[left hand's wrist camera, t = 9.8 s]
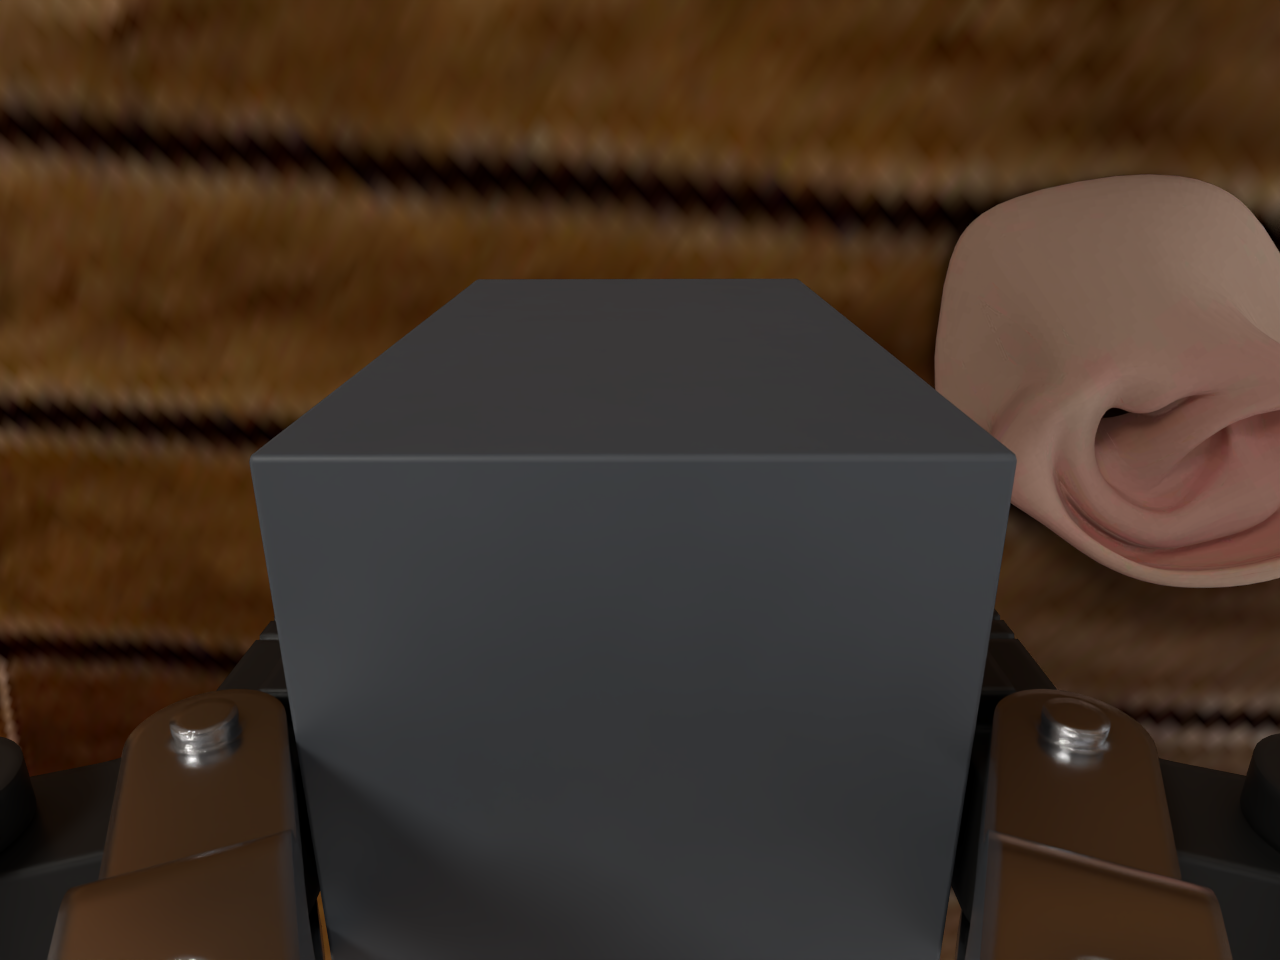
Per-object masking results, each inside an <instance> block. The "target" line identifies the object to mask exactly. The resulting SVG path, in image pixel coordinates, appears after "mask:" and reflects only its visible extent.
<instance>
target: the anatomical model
mask: <svg viewBox="0 0 1280 960" xmlns="http://www.w3.org/2000/svg"><path fill="white" fill-rule="evenodd" d="M934 360H935V390H936V391H937V392H939V393H940V394H941V395H942V396H944V397H945V398H946V399H947V400H949V401H950V402H951V403H952V404H954V405H955V406H956V407H957V408H959V409H960V410H961V411H962V412H963V413H965V414H966V415H967V416H968V417H970V418H971V419H972V420H973V421H975V422H976V423H977V424H978V425H980V426H981V427H982V428H983V429H985V430H986V431H987V432H988V433H990V434H991V435H992V436H993V437H995V438H996V439H997V440H998V441H1000V442H1001V443H1002V444H1003V445H1004V446H1006V447H1007V448H1008V449H1009V450H1011V451H1012V452H1013V453H1014V454H1015V455H1016V458H1017V464H1016V470H1015V477H1014V483H1013V490H1012V496H1011V502H1010V503H1012V504H1013V505H1015V506H1016V507H1018V508H1019V509H1021V510H1022V511H1024V512H1025V513H1027V514H1028V515H1030V516H1031V517H1033V518H1034V519H1036V520H1037V521H1039V522H1040V523H1042V524H1043V525H1045V526H1046V527H1047V528H1049V529H1050V530H1051V531H1053V532H1054V533H1056V534H1057V535H1058V536H1060V537H1061V538H1062V539H1064V540H1065V541H1067V542H1068V543H1069V544H1071V545H1072V546H1073V547H1075V548H1076V549H1078V550H1079V551H1081V552H1082V553H1084V554H1085V555H1087V556H1089V557H1090V558H1092V559H1093V560H1095V561H1096V562H1098V563H1100V564H1102V565H1104V566H1106V567H1108V568H1110V569H1112V570H1114V571H1116V572H1119V573H1121V574H1124V575H1126V576H1129V577H1132V578H1135V579H1138V580H1141V581H1145V582H1150V583H1154V584H1158V585H1166V586H1174V587H1188V588H1213V587H1230V586H1239V585H1248V584H1254V583H1259V582H1265V581H1269V580H1273V579H1276V578H1280V253H1279V251H1278V249H1277V248H1276V246H1275V244H1274V243H1273V241H1272V240H1271V238H1270V236H1269V235H1268V233H1267V232H1266V230H1265V228H1264V227H1263V226H1262V225H1261V223H1260V222H1259V221H1258V220H1257V218H1256V217H1255V216H1254V215H1253V213H1252V212H1251V211H1250V210H1249V209H1248V208H1247V207H1246V206H1245V205H1244V204H1243V203H1242V202H1241V201H1240V200H1238V199H1237V198H1236V197H1234V196H1233V195H1232V194H1230V193H1228V192H1227V191H1225V190H1223V189H1221V188H1219V187H1217V186H1215V185H1213V184H1210V183H1206V182H1203V181H1200V180H1197V179H1192V178H1187V177H1181V176H1171V175H1152V174H1143V175H1125V176H1112V177H1106V178H1099V179H1092V180H1085V181H1078V182H1074V183H1069V184H1065V185H1060V186H1055V187H1051V188H1046V189H1042V190H1039V191H1035V192H1032V193H1029V194H1025V195H1022V196H1019V197H1016V198H1013V199H1011V200H1008V201H1006V202H1003V203H1001V204H998V205H996V206H995V207H993V208H991V209H989V210H988V211H986V212H984V213H983V214H981V215H980V216H979V217H978V218H976V219H975V220H974V221H973V222H972V223H971V224H970V225H969V226H968V227H967V228H966V229H965V231H964V232H963V233H962V235H961V236H960V238H959V240H958V242H957V244H956V246H955V248H954V251H953V254H952V257H951V259H950V263H949V267H948V271H947V275H946V279H945V283H944V287H943V294H942V301H941V308H940V315H939V322H938V329H937V336H936V347H935V358H934Z"/></svg>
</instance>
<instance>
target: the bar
mask: <svg viewBox="0 0 1280 960" xmlns="http://www.w3.org/2000/svg"><path fill="white" fill-rule="evenodd" d="M1016 464H1017V458H1016V455H1015V454H1014V453H1013V452H1012V451H1011V450H1009V449H1008V448H1007V447H1006V446H1004V445H1003V444H1002V443H1001V442H1000V441H998V440H997V439H996V438H995V437H993V436H992V435H991V434H990V433H988V432H987V431H986V430H985V429H983V428H982V427H981V426H980V425H978V424H977V423H976V422H975V421H973V420H972V419H971V418H970V417H968V416H967V415H966V414H965V413H963V412H962V411H961V410H960V409H959V408H957V407H956V406H955V405H954V404H952V403H951V402H950V401H949V400H947V399H946V398H945V397H944V396H942V395H941V394H940V393H939V392H937V391H936V390H935V389H934V388H932V387H931V386H930V385H929V384H927V383H926V382H925V381H924V380H922V379H921V378H920V377H919V376H918V375H916V374H915V373H914V372H913V371H911V370H910V369H909V368H908V367H906V366H905V365H904V364H903V363H901V362H900V361H899V360H898V359H896V358H895V357H894V356H893V355H891V354H890V353H889V352H888V351H886V350H885V349H884V348H883V347H881V346H880V345H879V344H878V343H877V342H875V341H874V340H873V339H872V338H870V337H869V336H868V335H867V334H865V333H864V332H863V331H862V330H860V329H859V328H858V327H857V326H855V325H854V324H853V323H852V322H850V321H849V320H848V319H847V318H845V317H844V316H843V315H842V314H840V313H839V312H838V311H837V310H836V309H834V308H833V307H832V306H831V305H829V304H828V303H827V302H826V301H824V300H823V299H822V298H821V297H819V296H818V295H817V294H816V293H814V292H813V291H812V290H811V289H809V288H808V287H807V286H806V285H804V284H803V283H802V282H801V281H799V280H798V279H512V280H476V281H475V282H474V283H472V284H471V285H470V286H469V287H467V288H466V289H465V290H463V291H462V292H461V293H460V294H458V295H457V296H456V297H454V298H453V299H452V300H451V301H449V302H448V303H447V304H445V305H444V306H443V307H442V308H440V309H439V310H438V311H436V312H435V313H434V314H433V315H431V316H430V317H429V318H427V319H426V320H425V321H424V322H422V323H421V324H420V325H418V326H417V327H416V328H415V329H413V330H412V331H411V332H409V333H408V334H407V335H406V336H404V337H403V338H402V339H400V340H399V341H398V342H397V343H395V344H394V345H393V346H391V347H390V348H389V349H388V350H386V351H385V352H384V353H382V354H381V355H380V356H379V357H377V358H376V359H375V360H373V361H372V362H371V363H370V364H368V365H367V366H366V367H364V368H363V369H362V370H361V371H359V372H358V373H357V374H355V375H354V376H353V377H352V378H350V379H349V380H348V381H346V382H345V383H344V384H343V385H341V386H340V387H339V388H337V389H336V390H335V391H334V392H332V393H331V394H330V395H328V396H327V397H326V398H325V399H323V400H322V401H321V402H319V403H318V404H317V405H316V406H314V407H313V408H312V409H310V410H309V411H308V412H307V413H305V414H304V415H303V416H301V417H300V418H299V419H298V420H296V421H295V422H294V423H292V424H291V425H290V426H289V427H287V428H286V429H285V430H283V431H282V432H281V433H280V434H278V435H277V436H276V437H274V438H273V439H272V440H271V441H269V442H268V443H267V444H265V445H264V446H263V447H262V448H260V449H259V450H258V451H256V452H255V453H254V454H253V455H251V458H250V468H251V474H252V480H253V486H254V492H255V498H256V504H257V510H258V516H259V522H260V528H261V534H262V541H263V547H264V553H265V559H266V565H267V571H268V577H269V583H270V589H271V595H272V601H273V607H274V613H275V619H276V625H277V631H278V637H279V643H280V649H281V655H282V661H283V667H284V673H285V680H286V686H287V692H288V698H289V704H290V710H291V716H292V722H293V728H294V734H295V740H296V746H297V752H298V758H299V764H300V770H301V776H302V782H303V788H304V794H305V800H306V806H307V813H308V819H309V825H310V831H311V837H312V843H313V849H314V855H315V861H316V867H317V873H318V879H319V885H320V891H321V897H322V903H323V909H324V915H325V921H326V927H327V933H328V939H329V945H330V952H331V958H332V960H939V959H940V953H941V946H942V940H943V934H944V927H945V921H946V914H947V908H948V901H949V895H950V888H951V882H952V876H953V869H954V863H955V856H956V850H957V843H958V837H959V831H960V824H961V818H962V811H963V805H964V798H965V792H966V786H967V779H968V773H969V766H970V760H971V753H972V747H973V741H974V734H975V728H976V721H977V715H978V708H979V702H980V695H981V689H982V683H983V676H984V670H985V663H986V657H987V650H988V644H989V638H990V631H991V625H992V618H993V612H994V605H995V599H996V593H997V586H998V580H999V573H1000V567H1001V560H1002V554H1003V547H1004V541H1005V535H1006V528H1007V522H1008V515H1009V509H1010V502H1011V496H1012V490H1013V483H1014V477H1015V470H1016Z"/></svg>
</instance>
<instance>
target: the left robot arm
mask: <svg viewBox="0 0 1280 960" xmlns="http://www.w3.org/2000/svg"><path fill="white" fill-rule="evenodd" d="M951 885H952V888H953V890H954V892H955V895H956V897H957V899H958V902H959V904H960V907H961V915H960V921H959V927H958V934H957V943H956V952H955V960H1280V734H1275V735H1271V736H1268V737H1266V738H1264V739H1262V740H1261V741H1260V742H1259V743H1257V745H1256V747H1255V749H1254V752H1253V755H1252V759H1251V762H1250V765H1249V769H1248V772H1247V776H1244V775H1238V774H1233V773H1228V772H1223V771H1218V770H1213V769H1208V768H1203V767H1198V766H1193V765H1187V764H1182V763H1177V762H1173V761H1168V760H1164V759H1160V758H1158V753H1157V749H1156V746H1155V743H1154V741H1153V739H1152V738H1151V736H1150V735H1149V733H1148V732H1147V731H1146V730H1145V729H1144V728H1143V727H1142V726H1141V725H1140V724H1139V723H1138V722H1136V721H1135V720H1134V719H1133V718H1131V717H1130V716H1128V715H1127V714H1125V713H1124V712H1122V711H1120V710H1118V709H1116V708H1115V707H1113V706H1111V705H1109V704H1106V703H1104V702H1102V701H1099V700H1097V699H1094V698H1091V697H1088V696H1085V695H1081V694H1077V693H1073V692H1067V691H1061V690H1057V689H1056V688H1055V686H1054V685H1053V684H1052V682H1051V681H1050V680H1049V679H1048V677H1047V676H1046V675H1045V673H1044V672H1043V671H1042V670H1041V668H1040V667H1039V666H1038V664H1037V663H1036V662H1035V660H1034V659H1033V658H1032V657H1031V655H1030V654H1029V653H1028V651H1027V650H1026V649H1025V648H1024V646H1023V645H1022V644H1021V642H1020V641H1019V640H1018V639H1014V633H1013V632H1012V631H1011V629H1010V628H1009V627H1008V626H1007V624H1006V623H1005V622H1004V620H1000V615H999V614H998V613H997V611H996V610H995V609H994V612H993V618H992V625H991V631H990V638H989V644H988V650H987V657H986V663H985V670H984V676H983V683H982V689H981V695H980V702H979V708H978V715H977V721H976V728H975V734H974V741H973V747H972V753H971V760H970V766H969V773H968V779H967V786H966V792H965V798H964V805H963V811H962V818H961V824H960V831H959V837H958V843H957V850H956V856H955V863H954V869H953V876H952V882H951ZM319 892H320V885H319V879H318V873H317V867H316V861H315V855H314V849H313V843H312V837H311V831H310V825H309V819H308V813H307V806H306V800H305V794H304V788H303V782H302V776H301V770H300V764H299V758H298V752H297V746H296V740H295V734H294V728H293V722H292V716H291V710H290V704H289V698H288V692H287V686H286V680H285V673H284V667H283V661H282V655H281V649H280V643H279V637H278V631H277V625H276V619H275V617H274V621H271V622H270V623H269V624H268V626H267V627H266V628H265V629H264V631H263V632H262V633H261V634H260V640H256V641H255V642H254V643H253V645H252V646H251V647H250V648H249V650H248V651H247V652H246V654H245V655H244V656H243V657H242V659H241V660H240V661H239V663H238V664H237V665H236V666H235V668H234V669H233V670H232V671H231V673H230V674H229V675H228V677H227V678H226V679H225V680H224V682H223V683H222V684H221V686H220V687H219V688H218V689H217V691H213V692H207V693H203V694H199V695H195V696H192V697H189V698H186V699H183V700H181V701H178V702H176V703H174V704H171V705H169V706H167V707H165V708H164V709H162V710H160V711H158V712H156V713H155V714H153V715H152V716H150V717H149V718H147V719H146V720H145V721H144V722H142V723H141V724H140V725H139V726H138V727H137V728H136V729H135V730H134V731H133V732H132V733H131V735H130V736H129V738H128V739H127V741H126V743H125V746H124V749H123V753H122V758H118V759H115V760H111V761H107V762H103V763H98V764H94V765H88V766H83V767H78V768H73V769H68V770H63V771H58V772H53V773H48V774H43V775H37V776H32V777H29V773H28V770H27V766H26V763H25V760H24V756H23V753H22V751H21V749H20V747H19V746H18V745H17V744H16V743H15V742H14V741H11V740H9V739H7V738H4V737H0V960H325V952H324V943H323V934H322V927H321V921H320V915H319V909H318V903H317V897H318V895H319Z"/></svg>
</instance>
